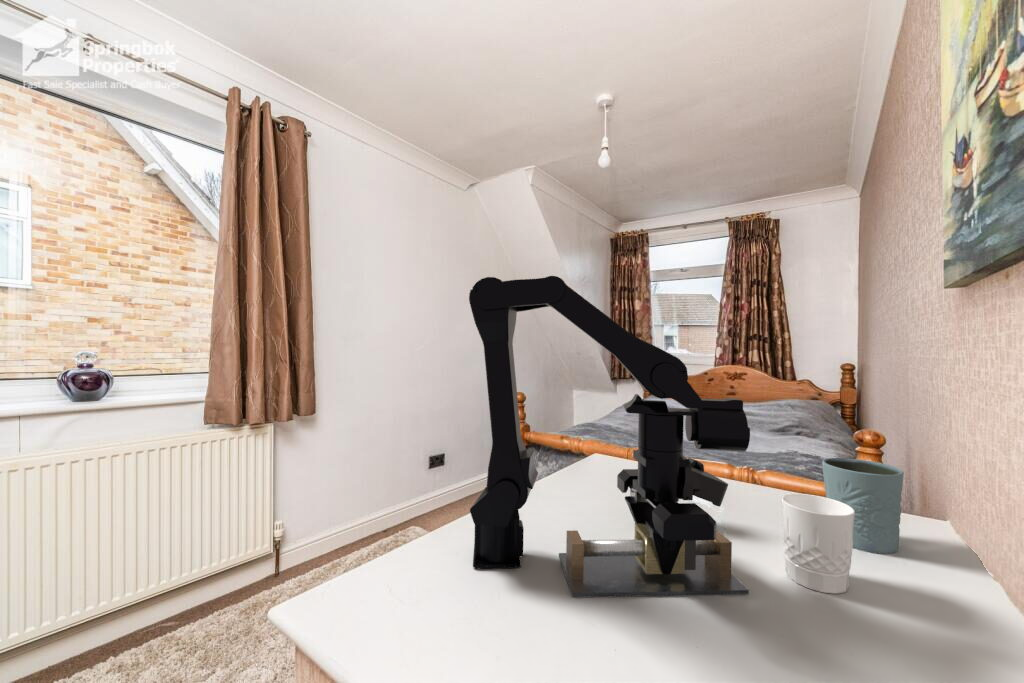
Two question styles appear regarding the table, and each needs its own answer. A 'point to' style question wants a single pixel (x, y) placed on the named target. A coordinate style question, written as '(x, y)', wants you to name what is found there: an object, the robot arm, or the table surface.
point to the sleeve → (650, 559)
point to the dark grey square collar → (690, 554)
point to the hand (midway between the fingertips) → (658, 563)
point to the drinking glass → (868, 500)
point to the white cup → (818, 541)
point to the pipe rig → (620, 574)
